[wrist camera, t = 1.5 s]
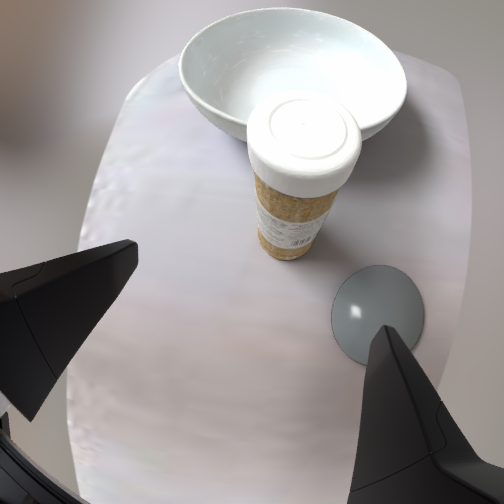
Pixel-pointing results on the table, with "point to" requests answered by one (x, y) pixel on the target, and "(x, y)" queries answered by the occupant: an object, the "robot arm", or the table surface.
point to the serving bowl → (290, 67)
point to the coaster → (375, 309)
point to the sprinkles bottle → (299, 166)
